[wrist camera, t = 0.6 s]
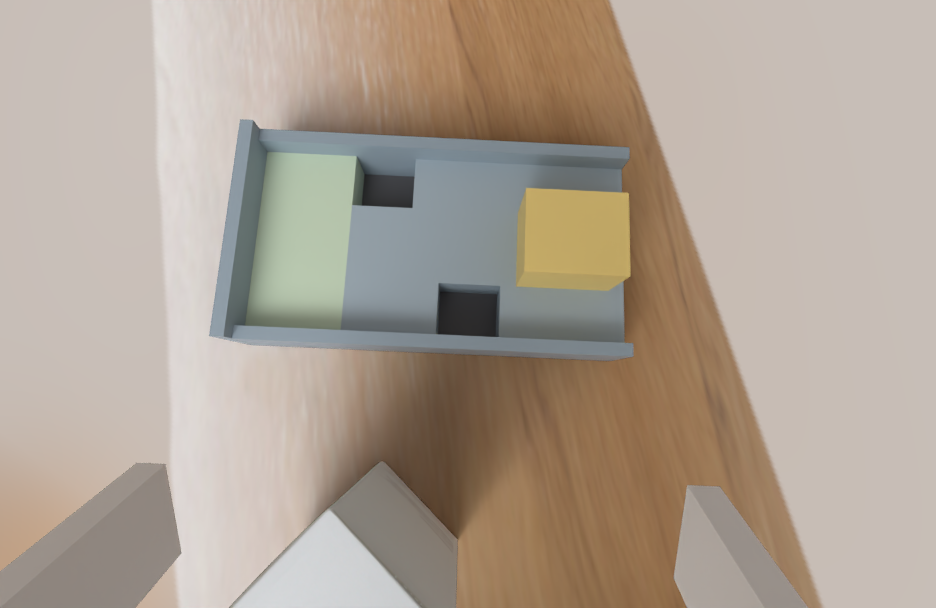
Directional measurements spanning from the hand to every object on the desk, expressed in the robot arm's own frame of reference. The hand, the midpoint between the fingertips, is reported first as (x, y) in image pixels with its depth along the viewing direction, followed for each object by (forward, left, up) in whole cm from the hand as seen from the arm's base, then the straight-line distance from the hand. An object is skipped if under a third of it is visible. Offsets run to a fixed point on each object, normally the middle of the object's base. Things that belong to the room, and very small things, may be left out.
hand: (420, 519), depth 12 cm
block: (+12, -7, -17) cm, 22 cm away
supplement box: (-7, +4, -20) cm, 22 cm away
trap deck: (+12, +1, -20) cm, 24 cm away
